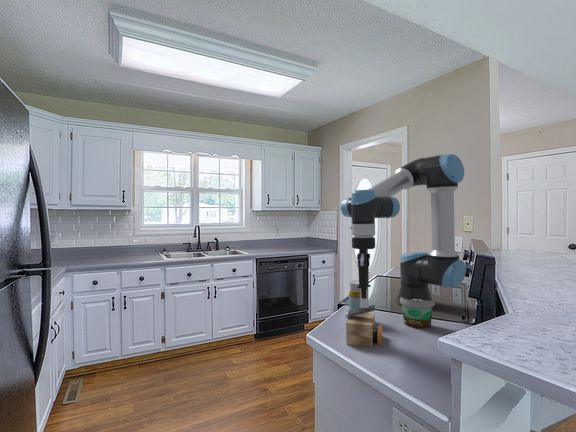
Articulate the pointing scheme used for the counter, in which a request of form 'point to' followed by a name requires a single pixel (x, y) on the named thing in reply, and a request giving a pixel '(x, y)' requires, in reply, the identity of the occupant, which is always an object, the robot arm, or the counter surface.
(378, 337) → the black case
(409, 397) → the counter surface
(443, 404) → the counter surface
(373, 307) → the keeper
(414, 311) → the food container
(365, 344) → the block
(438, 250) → the robot arm
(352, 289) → the bottle
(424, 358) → the counter surface
